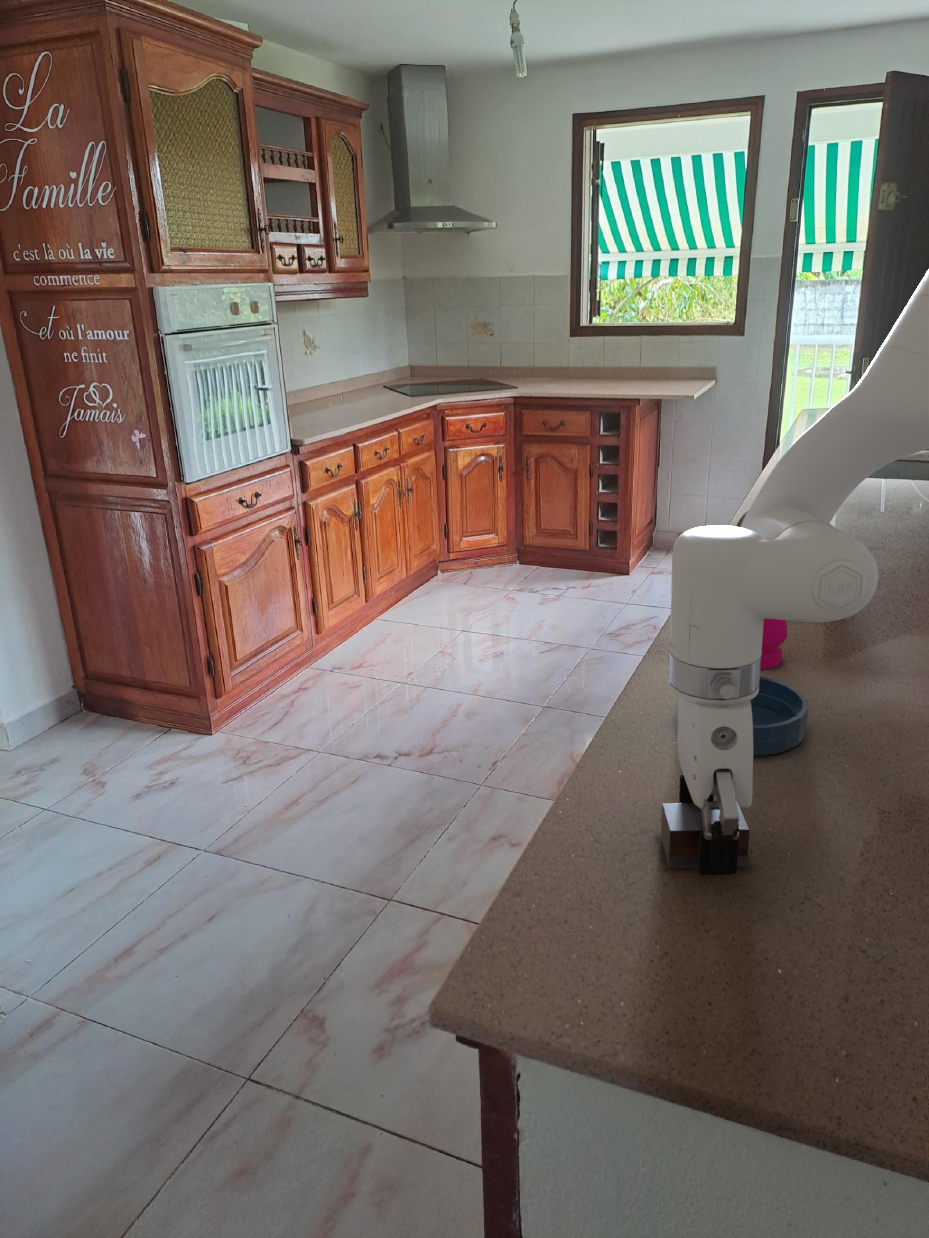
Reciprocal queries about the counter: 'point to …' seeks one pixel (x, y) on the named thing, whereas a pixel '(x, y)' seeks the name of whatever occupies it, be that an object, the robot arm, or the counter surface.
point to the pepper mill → (772, 642)
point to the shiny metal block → (693, 834)
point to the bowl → (777, 717)
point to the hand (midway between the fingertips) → (705, 840)
